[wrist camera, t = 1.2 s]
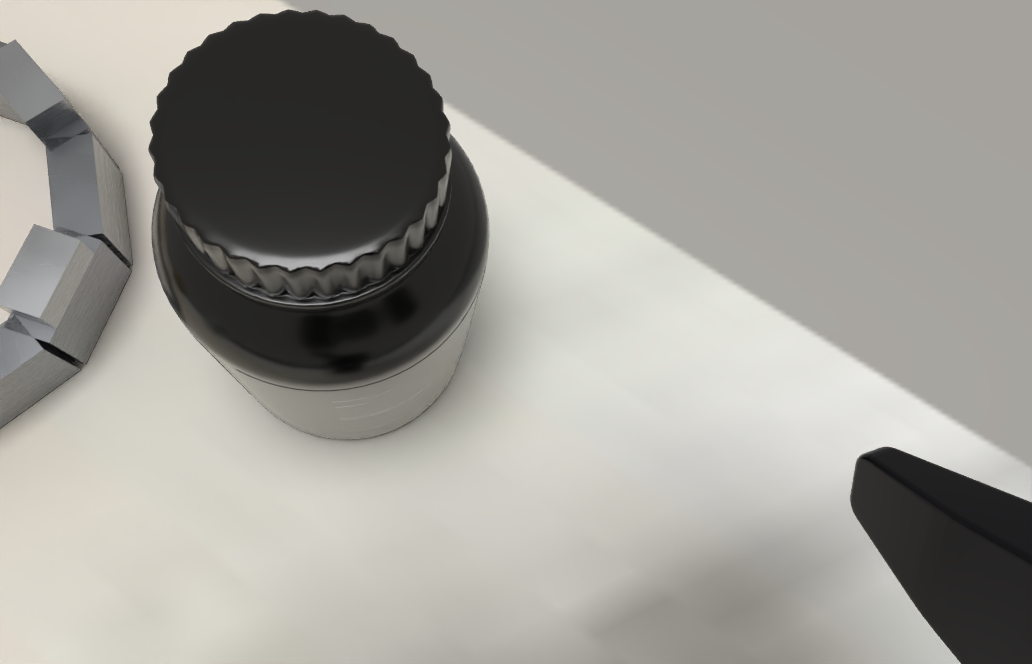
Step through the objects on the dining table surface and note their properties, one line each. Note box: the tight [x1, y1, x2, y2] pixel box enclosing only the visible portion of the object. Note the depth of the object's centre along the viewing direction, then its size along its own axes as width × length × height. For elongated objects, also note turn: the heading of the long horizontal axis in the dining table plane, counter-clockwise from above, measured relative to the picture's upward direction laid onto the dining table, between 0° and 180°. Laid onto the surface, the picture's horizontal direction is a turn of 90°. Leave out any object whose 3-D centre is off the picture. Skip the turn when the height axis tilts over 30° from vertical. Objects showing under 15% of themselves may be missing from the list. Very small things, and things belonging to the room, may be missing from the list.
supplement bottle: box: [149, 10, 489, 440], centre depth 18 cm, size 7×7×12 cm
